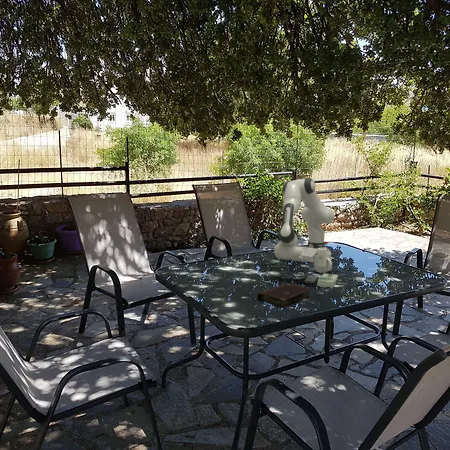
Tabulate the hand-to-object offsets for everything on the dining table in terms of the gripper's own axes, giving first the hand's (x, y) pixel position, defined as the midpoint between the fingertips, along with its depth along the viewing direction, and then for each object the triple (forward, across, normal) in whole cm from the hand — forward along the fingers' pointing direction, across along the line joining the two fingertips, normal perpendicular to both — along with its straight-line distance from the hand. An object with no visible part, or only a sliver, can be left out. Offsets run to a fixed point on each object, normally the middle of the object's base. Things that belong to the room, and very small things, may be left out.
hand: (323, 256), depth 263 cm
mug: (-4, +25, +17) cm, 31 cm away
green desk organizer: (+3, +5, +17) cm, 18 cm away
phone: (-7, +5, +17) cm, 19 cm away
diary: (-14, -33, +18) cm, 40 cm away
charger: (-1, 0, +6) cm, 6 cm away
